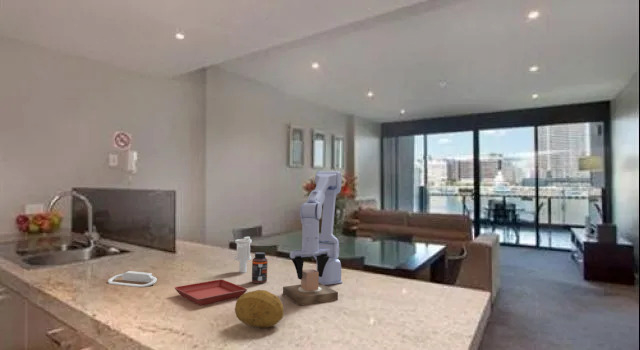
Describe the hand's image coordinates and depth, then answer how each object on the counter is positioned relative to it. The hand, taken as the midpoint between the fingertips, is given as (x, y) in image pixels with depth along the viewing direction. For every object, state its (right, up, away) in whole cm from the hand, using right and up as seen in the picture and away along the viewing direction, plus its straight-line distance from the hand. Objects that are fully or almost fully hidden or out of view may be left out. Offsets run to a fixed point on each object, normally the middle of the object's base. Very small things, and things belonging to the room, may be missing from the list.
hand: (310, 277), depth 126 cm
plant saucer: (-34, -7, -1) cm, 34 cm away
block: (0, -4, 0) cm, 4 cm away
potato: (-13, -6, -27) cm, 30 cm away
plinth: (0, -7, 0) cm, 7 cm away
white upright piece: (-30, -7, +35) cm, 47 cm away
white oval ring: (-68, -7, +15) cm, 70 cm away
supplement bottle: (-20, -7, +18) cm, 28 cm away
